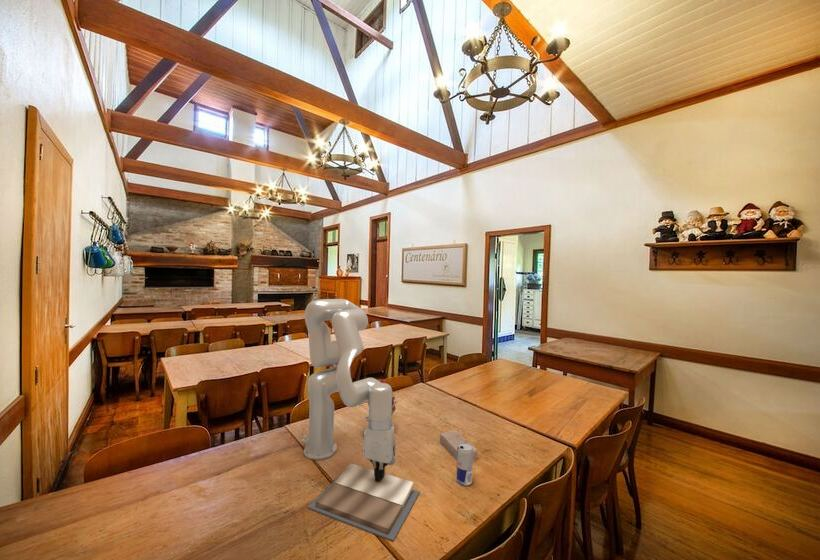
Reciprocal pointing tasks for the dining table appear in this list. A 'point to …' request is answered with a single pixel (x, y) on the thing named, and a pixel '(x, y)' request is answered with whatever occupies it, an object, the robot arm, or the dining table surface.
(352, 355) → the robot arm
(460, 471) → the energy drink
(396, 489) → the loose plank
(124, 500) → the dining table surface
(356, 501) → the laid plank
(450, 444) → the brick
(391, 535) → the underlay mat
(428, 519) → the dining table surface
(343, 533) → the dining table surface
